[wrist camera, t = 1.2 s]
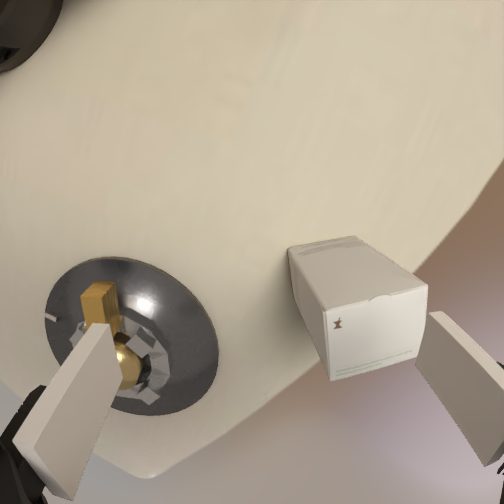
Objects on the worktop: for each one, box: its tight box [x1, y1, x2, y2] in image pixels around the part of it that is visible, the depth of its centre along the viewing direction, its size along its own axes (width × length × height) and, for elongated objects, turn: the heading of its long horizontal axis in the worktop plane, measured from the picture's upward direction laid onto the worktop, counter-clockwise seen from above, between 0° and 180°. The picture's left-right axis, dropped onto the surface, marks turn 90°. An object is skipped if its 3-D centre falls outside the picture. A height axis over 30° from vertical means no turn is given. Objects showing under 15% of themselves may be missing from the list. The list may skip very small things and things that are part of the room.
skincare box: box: [288, 236, 428, 381], centre depth 28 cm, size 8×7×16 cm
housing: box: [45, 257, 219, 416], centre depth 35 cm, size 24×24×6 cm
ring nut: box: [69, 281, 173, 405], centre depth 33 cm, size 17×13×6 cm
